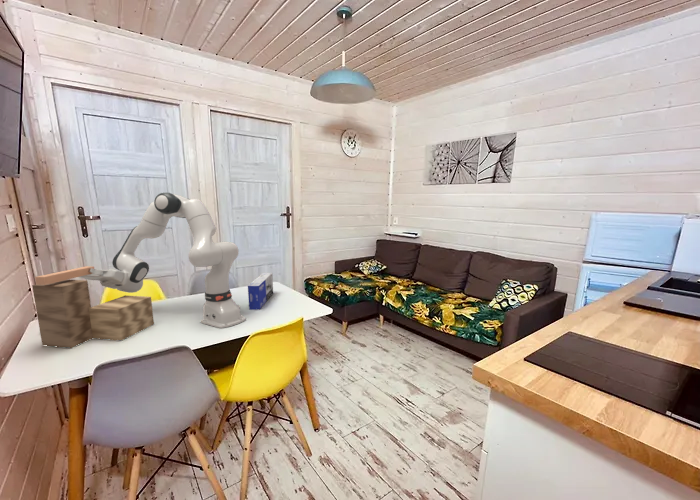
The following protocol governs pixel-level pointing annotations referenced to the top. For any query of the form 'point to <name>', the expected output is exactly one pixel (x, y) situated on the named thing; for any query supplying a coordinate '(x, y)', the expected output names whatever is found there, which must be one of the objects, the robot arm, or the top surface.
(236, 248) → the robot arm
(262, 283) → the ink box
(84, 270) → the long slim case
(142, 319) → the brown wooden stepped block
